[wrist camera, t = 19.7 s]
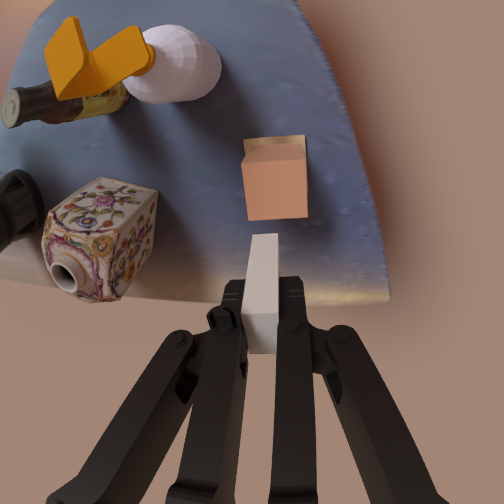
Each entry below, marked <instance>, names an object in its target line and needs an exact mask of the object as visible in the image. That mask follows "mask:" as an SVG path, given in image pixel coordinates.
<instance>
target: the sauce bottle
mask: <svg viewBox="0 0 504 504" xmlns="http://www.w3.org/2000/svg"><path fill="white" fill-rule="evenodd" d="M129 96H130V93H129V91H128V90H127V88H126V87H125V85H124V83H123V81H121V82H120V83H118V84H117V85H115V86H114V87H112V88H111V89H109V90H107V91H105V92H103V93H101V94H98V95H94V96H87V97H80V98H74V99H68V100H58V99H57V96H56V93H55V90H54V87H53V83H52V80H50V81H48V82H46V83H44V84H42V85H38V86H35V87H29V88H23V87H17V88H14V89H11V90H9V91H8V92H7V93H6V94H5V96H4V98H3V101H2V104H1V119H2V123H3V124H4V126H5V127H6V128H9V129H10V128H14V127H18V126H20V125H21V124H23V123H24V122H28V121H31V120H38V119H39V120H41V121H43V122H45V123H47V124H60V123H63V122H71V121H75V120H79V119H84V118H89V117H94V116H99V115H105V114H110V113H112V112H116V111H118V110H120V109H121V108H123V107H124V105H126V103H127V101H128V99H129Z"/></svg>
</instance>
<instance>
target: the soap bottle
mask: <svg viewBox="0 0 504 504" xmlns="http://www.w3.org/2000/svg"><path fill="white" fill-rule="evenodd" d="M44 55H45V59H46V63H47V66H48V70H49V73H50V77H51V80H52V83H53V87H54V90H55V93H56V96H57V99H58V100H68V99H74V98H80V97H87V96H94V95H98V94H101V93H103V92H105V91H107V90H109V89H111V88H112V87H114V86H115V85H117V84H118V83H120V82H121V81H123V83H124V85H125V87H126V88H127V90H128V91H129V93H130V94H132V95H133V96H135V97H136V98H137V99H139V100H140V101H142V102H146V103H151V104H161V103H169V102H179V101H191V100H196V99H198V98H200V97H203V96H205V95H206V94H207V93H209V92H210V91H211V90H212V89H213V88H214V87H215V85H216V84H217V82H218V80H219V79H220V75H221V70H222V64H221V59H220V56H219V54H218V53H217V51H216V50H215V48H214V47H213V46H211V45H210V44H208V43H207V42H206V41H204V40H203V39H201V38H200V37H198V36H197V35H195V34H194V33H192V32H190V31H189V30H187V29H185V28H184V27H182V26H175V25H163V26H158V27H154V28H150V29H149V30H147V31H145V32H143V33H142V32H141V29H140V28H138V27H136V26H129V27H127V28H126V29H124V30H123V31H121V32H119V33H118V34H116V35H115V36H113V37H112V38H111V39H109V40H108V41H106V42H105V43H103V44H102V45H101V46H99V47H98V48H96V49H95V50H93V51H91V52H88V49H87V46H86V42H85V39H84V36H83V33H82V29H81V26H80V22H79V19H78V18H77V17H76V16H72V17H68V18H67V19H66V20H65V21H64V22H63V24H62V25H61V26H60V28H59V29H58V30H57V32H56V33H55V34H54V36H53V37H52V39H51V40H50V42H49V43H48V45H47V46H46V48H45V51H44Z"/></svg>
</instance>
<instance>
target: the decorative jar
mask: <svg viewBox="0 0 504 504" xmlns="http://www.w3.org/2000/svg"><path fill="white" fill-rule="evenodd" d="M158 194H159V192H158V190H154V189H151V188H146V187H143V186H138V185H135V184H131V183H126V182H123V181H118V180H114V179H109V178H105V177H99V178H97V179H96V180H94V181H92V182H91V183H89V184H87V185H85V186H84V187H82V188H81V189H79V190H78V191H76V192H75V193H73V194H72V195H71V196H69V197H68V198H66V199H65V200H64V201H62V202H61V203H60V204H58V205H57V206H56V207H54V208H53V209H52V210H50V211H49V213H48V217H47V219H46V221H45V227H44V233H43V236H42V240H41V246H42V251H43V258H44V261H45V264H46V267H47V269H48V271H49V272H50V274H51V275H52V278H53V280H54V281H55V283H56V284H57V285H58V286H59V287H60V288H61V289H62V290H64V291H65V292H66V293H68V294H69V295H72V296H74V297H76V298H78V299H80V300H83V301H86V302H88V303H96V302H112V301H117V300H120V299H121V297H122V296H123V294H124V293H125V291H126V290H127V289H128V287H129V286H130V284H131V283H132V281H133V279H134V278H135V276H136V275H137V273H138V272H139V270H140V269H141V268H142V266H143V265H144V263H145V262H146V260H147V258H148V257H149V255H150V253H151V252H152V250H153V240H154V228H155V219H156V209H157V201H158Z"/></svg>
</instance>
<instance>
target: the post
mask: <svg viewBox="0 0 504 504" xmlns="http://www.w3.org/2000/svg"><path fill="white" fill-rule="evenodd" d="M243 142H244V149H245V156H246V154H247V152H248V150H249V149H250V147H251V146H258V145H271V144H285V143H298V144H299V146H300V148H301V151H302V153H303V155H304V158H305V164H306V148H305V135H290V136H274V137H261V138H251V139H244V140H243ZM306 183H307V164H306ZM307 192H308V185H307Z"/></svg>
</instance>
